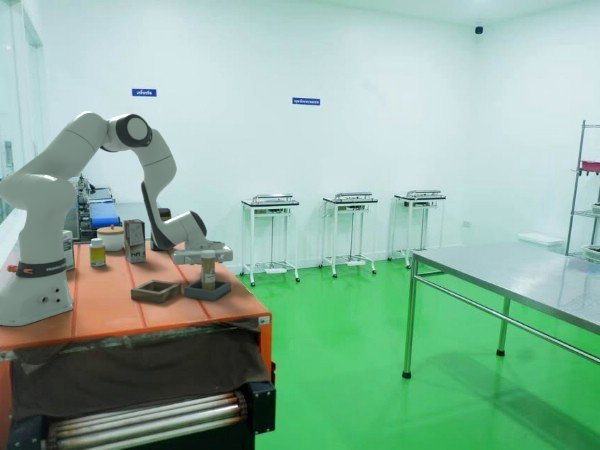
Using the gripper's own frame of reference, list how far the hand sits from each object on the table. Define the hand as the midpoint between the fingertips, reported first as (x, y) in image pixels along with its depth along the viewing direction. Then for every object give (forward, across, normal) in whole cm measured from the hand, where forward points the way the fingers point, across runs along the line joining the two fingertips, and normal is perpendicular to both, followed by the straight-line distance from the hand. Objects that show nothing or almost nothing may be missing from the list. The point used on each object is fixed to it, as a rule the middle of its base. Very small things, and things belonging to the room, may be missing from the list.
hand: (206, 261), depth 149 cm
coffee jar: (-63, -10, +10) cm, 64 cm away
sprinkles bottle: (+3, 0, +9) cm, 10 cm away
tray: (+3, 0, +10) cm, 10 cm away
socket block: (0, -16, +10) cm, 19 cm away
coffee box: (-46, -22, +10) cm, 52 cm away
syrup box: (-39, -47, +10) cm, 62 cm away
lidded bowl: (-66, -31, +10) cm, 74 cm away
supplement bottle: (-42, -36, +10) cm, 56 cm away
